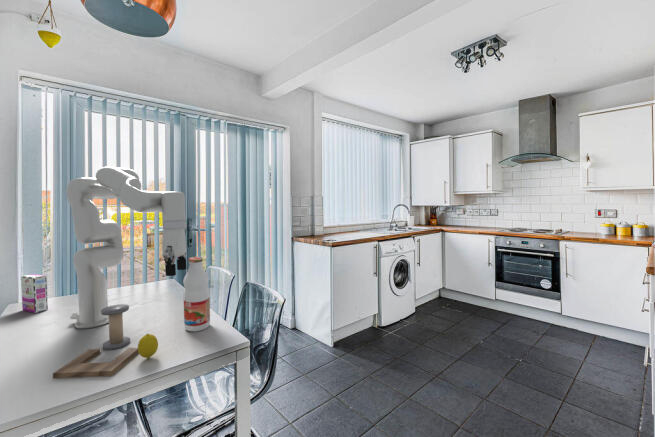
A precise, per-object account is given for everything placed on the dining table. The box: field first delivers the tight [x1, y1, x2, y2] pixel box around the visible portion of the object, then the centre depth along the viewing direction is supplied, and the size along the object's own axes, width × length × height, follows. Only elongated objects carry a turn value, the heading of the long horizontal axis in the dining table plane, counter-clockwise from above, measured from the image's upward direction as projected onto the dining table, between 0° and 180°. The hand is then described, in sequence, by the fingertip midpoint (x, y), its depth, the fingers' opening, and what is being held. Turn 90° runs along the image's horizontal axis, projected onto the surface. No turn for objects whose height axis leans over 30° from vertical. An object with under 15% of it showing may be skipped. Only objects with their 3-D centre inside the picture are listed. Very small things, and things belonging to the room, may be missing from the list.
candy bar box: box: [20, 273, 49, 314], centre depth 140 cm, size 11×5×16 cm, turn 68°
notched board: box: [52, 347, 139, 379], centre depth 93 cm, size 16×14×2 cm
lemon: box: [137, 333, 159, 359], centre depth 96 cm, size 6×6×8 cm
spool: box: [101, 303, 131, 351], centre depth 105 cm, size 8×8×13 cm
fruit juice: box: [182, 256, 211, 332], centre depth 118 cm, size 9×9×28 cm
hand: (176, 272), depth 109 cm, fingers open, 9 cm apart
